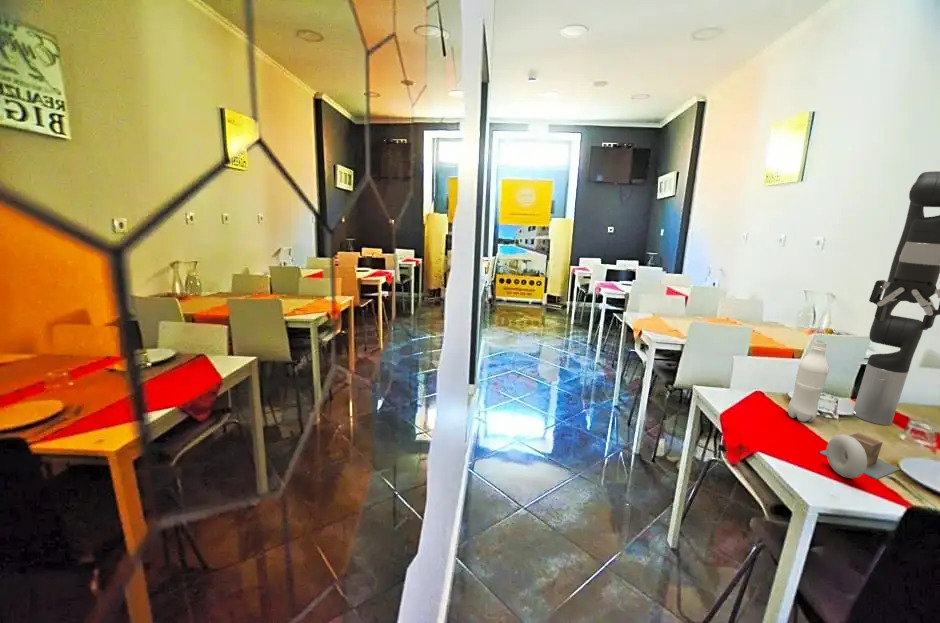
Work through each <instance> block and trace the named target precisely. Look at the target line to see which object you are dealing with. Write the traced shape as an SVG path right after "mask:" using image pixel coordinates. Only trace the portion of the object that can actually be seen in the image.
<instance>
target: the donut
mask: <svg viewBox="0 0 940 623" xmlns="http://www.w3.org/2000/svg"><path fill="white" fill-rule="evenodd" d="M826 450H827V461H828V464H829V465H830V467H831V468H832V469H833V471H834V472H835V473H836V474H838V475H839V476H842V477H843V478H846V479H856V478H859V477H861V476H862V475H864V474H863V473H864V471H865V469H866V467H867V455H866V452H865V450H864V448H863V447H862V445H861V444H860V443H859V442H858V441H857V440H856V439H855V438H853V437H851V436H850V435H848V434H837V435H835V436H833V437H832V438H831V439H830V440H829V441H828V443H827V445H826ZM845 450H846V452H847V455H848V461H847V462H846V460H845V456H844V453H845Z"/></svg>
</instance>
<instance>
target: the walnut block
mask: <svg viewBox="0 0 940 623" xmlns="http://www.w3.org/2000/svg"><path fill="white" fill-rule="evenodd" d="M849 436H851V437H853V438H855V439H856V440H857V441H858V442H859V443H860V444H861V445H862V447H863V448H864V450H865V452H866V455H867V467H868V466H871V465H873V464H876V462H877V459H879V454H880V452H881V449H882V446H883V443H884V442H882V441H880V440H877V439H875V438H873V437H870V436H867V435H865V434H862V433H860V432H857V433H854V434H850V435H849ZM844 456H845V458H846V459H848V455H847V452H846V450H845V453H844Z"/></svg>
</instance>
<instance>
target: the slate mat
mask: <svg viewBox="0 0 940 623" xmlns="http://www.w3.org/2000/svg"><path fill="white" fill-rule="evenodd" d="M819 455H822V456H825V457H827V449H825V450H821V451H819ZM845 460H846V462H847V461H848V459H846V458H845ZM899 468H900V467H898V466H896V465H894V464H892V463H888V462H887V461H885V460H882V459H879V458H878V459H877V462H876V464H873V465H871V466H868V467H866V469H865V471H864V473H863V474H862V475H864V476H868V477H870V478H872V479H874V480H879V479H882V478H884V477H887V476H888V475H892V474H893V473H896V472H898V471H900V470H901V469H899Z"/></svg>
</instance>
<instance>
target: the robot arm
mask: <svg viewBox="0 0 940 623" xmlns="http://www.w3.org/2000/svg"><path fill="white" fill-rule="evenodd" d="M908 193H909V194H908V196H909V201H910V202H909V206H908V211H907V214H906V219H905V224H904V227H903V230H902V232H901V233H902V234H901V237H900V238H899V242H898V245H897V247H896V249H895V250H896V251H895V253H894V257H893V259H892V262H891V267H890V270H889V274H888V277H887V281H886V280H885V279H879V280H876V281H875V282H874V286H873V289H872V291H871V294H870V297H869V301H868V302H870V303H873V304H875V305H876V310H875V313H874V318H873V321H872V324H871V327H870V330H869V340H870V341H871V342H872V343H875V344H879V345H885V346H889V347H894V348H899V349H900V350H898V351H895V352H889V353H874V354H871V355H869V357H868V359H867V363H866V365H865V366H866V367H865V371H864V374H863V377H862V380H861V383H860V386H859V390H858V393H857V397H856V400H855V403H854V406H853V409H854V411H855V412H856V414H855V415H854V416H855V417H857V418H859V419H861V420H864V421H866V422H869V423H874V424H877V425H884V426H889V425H892V423H893V421H894V418H895V413H896V411H897V408H898V405H899V402H900V399H901V396H902V393H903V389H904V386H905V383H906V380H907V377H908V373H909V371H910V367H911V364H912V361H913V358H914V354H915V352H916V350H917V347H918V345H919V343H920V341H921V338H922V336H923V332H924V331H927V330H928V329H931V328H932V327H934V326H933V325H934V323H935V320H936V317H937V316H940V302H939V303H938V307H937V309H936V307H935V305H934V303H933V301H932V299H931V297H932V296H934V295H935V294H936V295H937V298H938V299H940V289H939V288H937V284H938V280H939V277H940V214H939V215H933V216H925V213H924V210H925V209H924V208H940V170H939V171H924V172H922V173H921V174H919V175H918V177H917V179H916V180H915V182H914V183H913V185H912V186H911V187H910V190H909V192H908ZM881 297H882V298H881ZM901 302H908V303H910V304H911V303H912V304H919V306H920V307H921V308H922V309H923V310H924V313H925V314H924V316H923V319H922V320H920V319H916V318H913V317H912V318H911V317H904V316H899V315H893V314H892V311H893V310H894V309H895V308H896V306H897V305H899V303H901Z"/></svg>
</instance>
